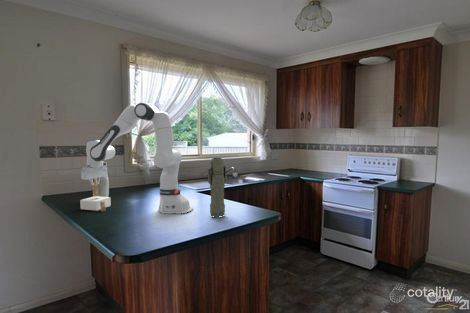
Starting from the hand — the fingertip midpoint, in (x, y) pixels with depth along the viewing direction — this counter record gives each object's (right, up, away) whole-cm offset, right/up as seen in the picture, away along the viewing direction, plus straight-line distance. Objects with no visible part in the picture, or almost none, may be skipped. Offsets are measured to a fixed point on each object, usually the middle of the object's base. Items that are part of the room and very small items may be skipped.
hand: (95, 184), depth 195 cm
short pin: (+9, -16, -8) cm, 20 cm away
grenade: (+83, -17, -20) cm, 87 cm away
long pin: (0, -8, +1) cm, 8 cm away
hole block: (0, -16, +1) cm, 15 cm away
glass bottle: (-5, -14, +22) cm, 26 cm away
